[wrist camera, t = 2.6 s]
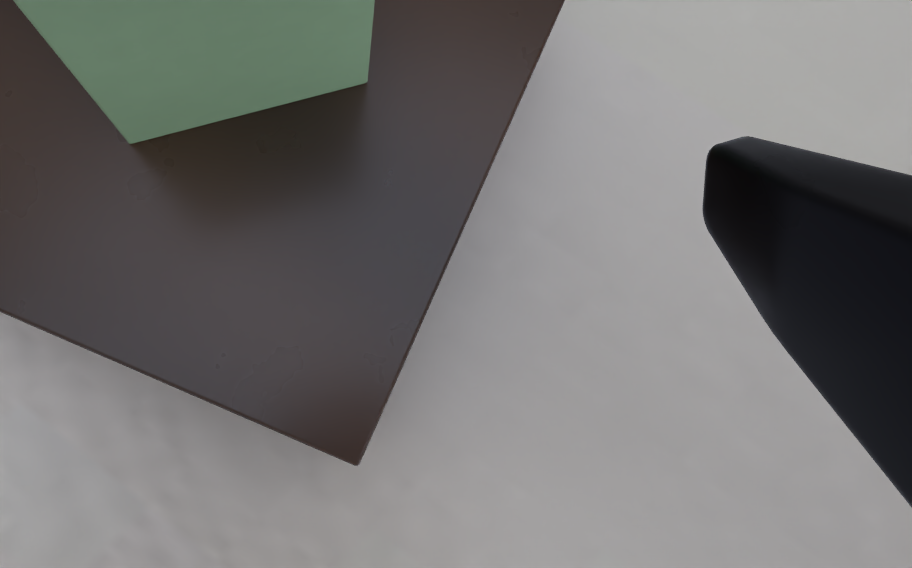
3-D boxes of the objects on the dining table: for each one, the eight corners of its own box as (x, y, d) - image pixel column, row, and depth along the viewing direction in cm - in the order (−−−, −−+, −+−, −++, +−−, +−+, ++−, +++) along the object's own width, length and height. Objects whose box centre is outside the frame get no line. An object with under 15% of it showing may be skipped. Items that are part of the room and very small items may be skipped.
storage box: (354, 453, 21) (358, 467, 17) (-86, 262, 20) (-203, 224, 16) (541, 32, 23) (588, -54, 19) (152, -155, 23) (107, -290, 18)
